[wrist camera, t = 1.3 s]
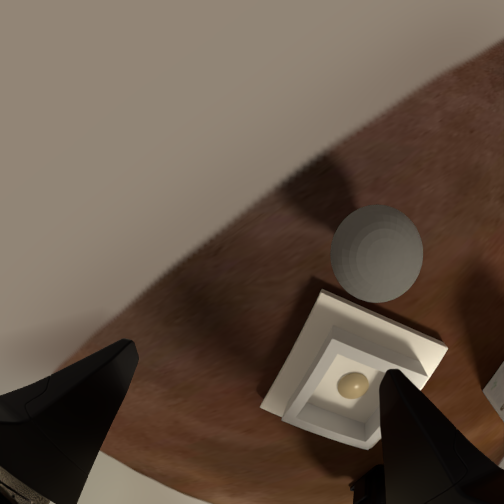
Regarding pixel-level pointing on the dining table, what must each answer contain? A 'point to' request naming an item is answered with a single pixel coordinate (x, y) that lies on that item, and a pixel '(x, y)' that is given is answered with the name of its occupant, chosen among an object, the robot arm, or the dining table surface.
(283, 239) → the dining table surface
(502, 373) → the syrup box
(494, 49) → the dining table surface
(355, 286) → the light bulb
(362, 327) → the socket base
